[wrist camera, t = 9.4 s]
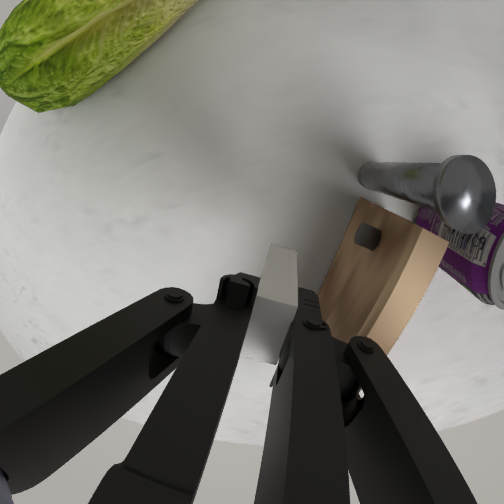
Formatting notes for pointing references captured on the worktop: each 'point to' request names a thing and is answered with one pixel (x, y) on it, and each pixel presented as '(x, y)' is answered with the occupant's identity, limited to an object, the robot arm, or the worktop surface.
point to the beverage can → (473, 254)
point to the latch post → (439, 188)
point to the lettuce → (76, 45)
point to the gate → (378, 275)
